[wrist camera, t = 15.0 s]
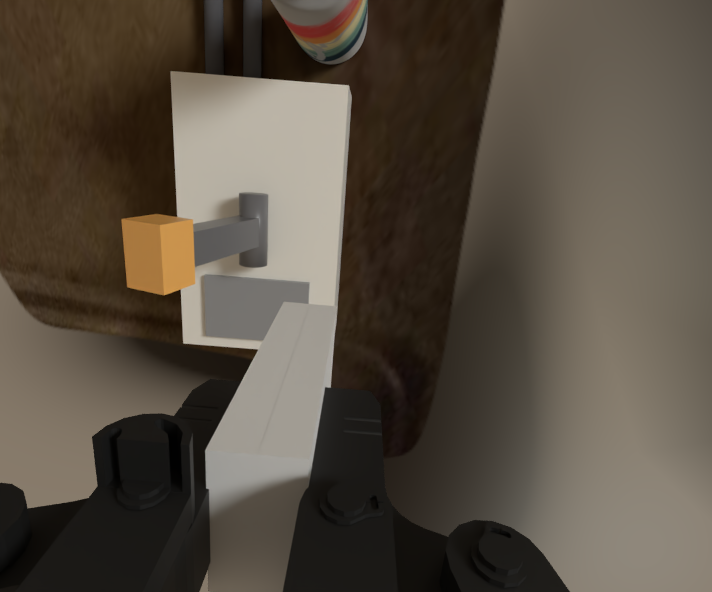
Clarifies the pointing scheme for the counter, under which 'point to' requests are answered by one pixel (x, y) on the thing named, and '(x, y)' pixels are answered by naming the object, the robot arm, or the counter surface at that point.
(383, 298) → the counter surface
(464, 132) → the counter surface
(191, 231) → the lever
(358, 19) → the lotion bottle
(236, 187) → the block
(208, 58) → the parallel rod pair
